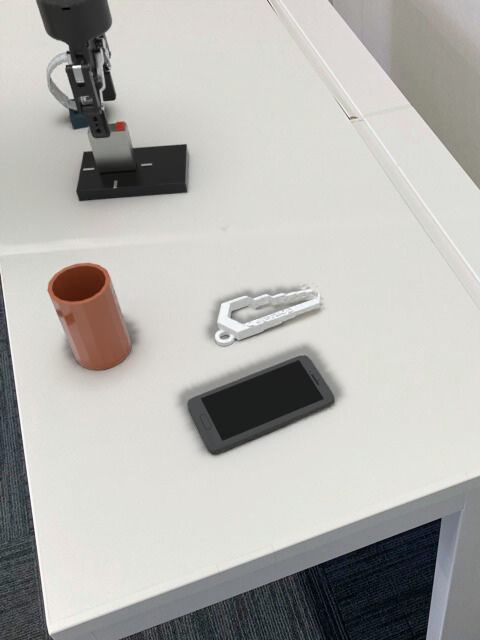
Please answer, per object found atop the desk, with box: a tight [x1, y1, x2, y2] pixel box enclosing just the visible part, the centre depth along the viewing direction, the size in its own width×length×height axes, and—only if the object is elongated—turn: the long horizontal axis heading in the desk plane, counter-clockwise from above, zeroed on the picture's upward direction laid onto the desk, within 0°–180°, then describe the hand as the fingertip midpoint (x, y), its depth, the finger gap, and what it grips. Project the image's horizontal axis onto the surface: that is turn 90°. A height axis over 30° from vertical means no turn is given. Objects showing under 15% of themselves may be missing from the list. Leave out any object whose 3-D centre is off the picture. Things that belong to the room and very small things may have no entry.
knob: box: [86, 120, 136, 173], centre depth 100 cm, size 5×2×6 cm, turn 97°
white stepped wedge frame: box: [214, 288, 322, 347], centre depth 88 cm, size 13×5×2 cm, turn 117°
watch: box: [46, 51, 92, 131], centre depth 111 cm, size 6×8×11 cm
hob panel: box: [75, 143, 190, 202], centre depth 104 cm, size 14×9×3 cm, turn 97°
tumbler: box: [46, 262, 132, 371], centre depth 81 cm, size 6×6×10 cm
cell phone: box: [187, 354, 336, 455], centre depth 79 cm, size 7×14×1 cm, turn 118°
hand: (105, 117), depth 97 cm, fingers open, 8 cm apart
